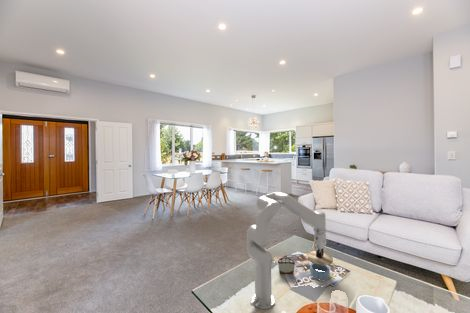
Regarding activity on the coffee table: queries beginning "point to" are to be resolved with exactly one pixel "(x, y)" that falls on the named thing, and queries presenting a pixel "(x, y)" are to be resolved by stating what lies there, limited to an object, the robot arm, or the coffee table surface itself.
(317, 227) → the robot arm
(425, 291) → the coffee table surface
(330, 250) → the coffee table surface
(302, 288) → the mat
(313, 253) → the lid
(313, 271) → the bowl
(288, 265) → the food container
